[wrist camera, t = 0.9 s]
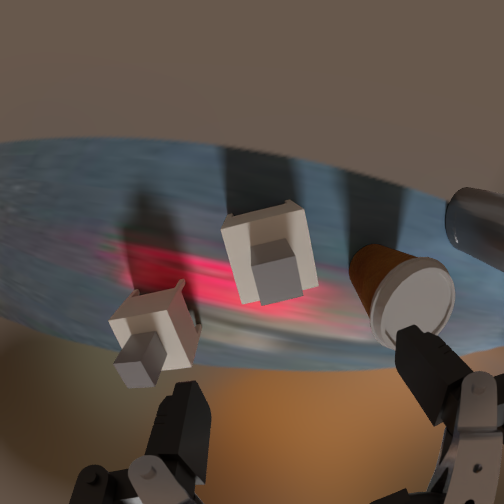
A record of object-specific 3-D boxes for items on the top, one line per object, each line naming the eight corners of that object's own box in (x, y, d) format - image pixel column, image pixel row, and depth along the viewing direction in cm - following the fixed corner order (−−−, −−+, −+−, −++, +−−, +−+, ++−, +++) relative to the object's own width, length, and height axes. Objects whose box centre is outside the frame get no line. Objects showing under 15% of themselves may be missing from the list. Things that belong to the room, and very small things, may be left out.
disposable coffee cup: (331, 240, 32) (373, 278, 20) (400, 224, 31) (461, 250, 20) (340, 310, 34) (374, 368, 23) (403, 291, 34) (452, 336, 22)
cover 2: (289, 199, 30) (319, 219, 18) (302, 258, 32) (333, 312, 20) (227, 214, 30) (213, 245, 18) (243, 272, 32) (240, 334, 20)
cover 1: (184, 278, 33) (151, 339, 20) (202, 327, 34) (183, 400, 22) (134, 289, 33) (86, 347, 20) (154, 335, 35) (121, 402, 22)
